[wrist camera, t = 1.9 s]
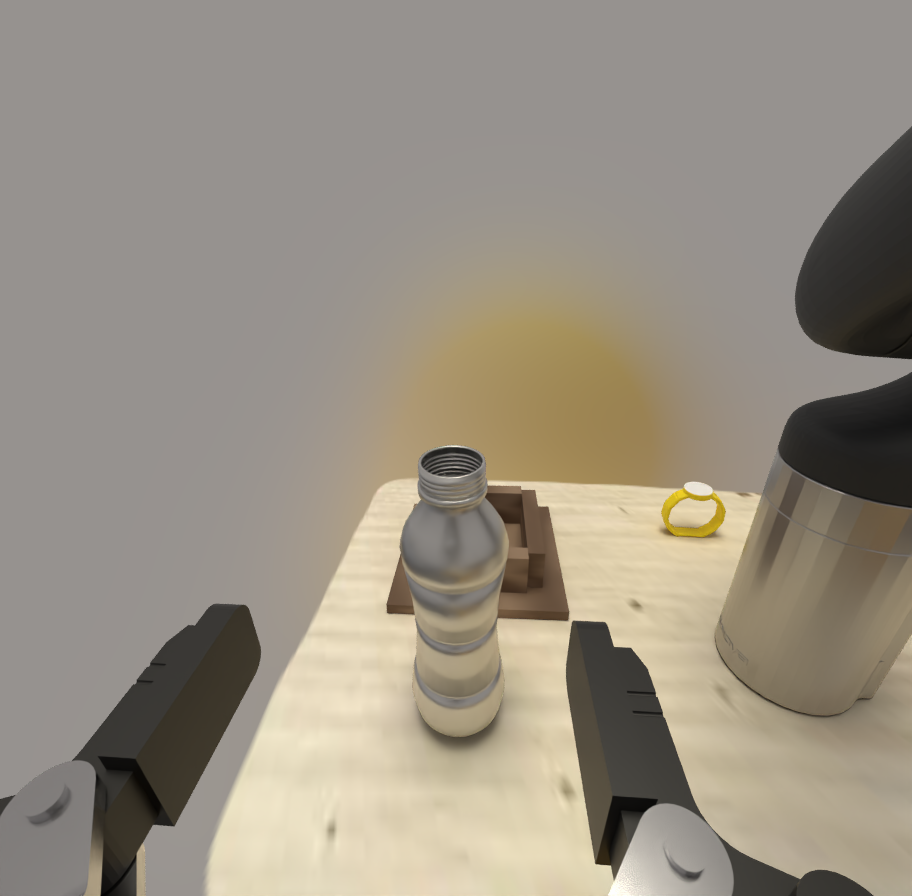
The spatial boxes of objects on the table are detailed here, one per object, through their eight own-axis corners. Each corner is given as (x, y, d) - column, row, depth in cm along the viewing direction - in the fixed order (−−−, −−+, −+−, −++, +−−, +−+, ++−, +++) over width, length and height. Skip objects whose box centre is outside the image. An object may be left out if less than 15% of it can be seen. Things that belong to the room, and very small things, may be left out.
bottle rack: (547, 513, 53) (550, 477, 51) (568, 620, 39) (573, 576, 36) (415, 510, 54) (412, 475, 52) (387, 612, 40) (382, 570, 38)
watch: (664, 542, 48) (670, 495, 46) (656, 526, 51) (662, 481, 48) (723, 541, 47) (733, 494, 45) (712, 526, 50) (722, 480, 47)
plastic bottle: (408, 750, 29) (378, 495, 20) (420, 661, 35) (400, 433, 26) (506, 753, 29) (519, 496, 20) (501, 662, 35) (508, 433, 26)
